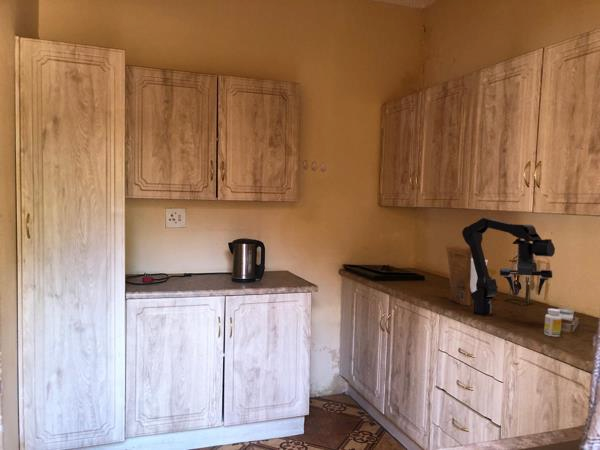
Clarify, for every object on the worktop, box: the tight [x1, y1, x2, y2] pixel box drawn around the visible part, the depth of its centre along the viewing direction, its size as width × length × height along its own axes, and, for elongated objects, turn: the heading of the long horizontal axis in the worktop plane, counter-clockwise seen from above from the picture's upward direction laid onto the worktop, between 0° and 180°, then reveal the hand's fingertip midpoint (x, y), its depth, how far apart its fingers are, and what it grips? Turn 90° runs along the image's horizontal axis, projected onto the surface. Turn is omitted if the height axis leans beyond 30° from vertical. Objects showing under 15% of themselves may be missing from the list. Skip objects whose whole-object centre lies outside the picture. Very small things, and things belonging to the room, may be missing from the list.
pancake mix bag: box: [445, 244, 472, 306], centre depth 222 cm, size 7×19×28 cm, turn 12°
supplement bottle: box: [543, 308, 562, 338], centre depth 170 cm, size 5×5×10 cm
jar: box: [557, 307, 575, 321], centre depth 184 cm, size 6×6×6 cm
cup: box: [470, 258, 489, 293], centre depth 251 cm, size 11×11×18 cm
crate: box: [561, 316, 579, 334], centre depth 181 cm, size 9×16×4 cm, turn 142°
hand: (525, 294), depth 183 cm, fingers open, 9 cm apart
